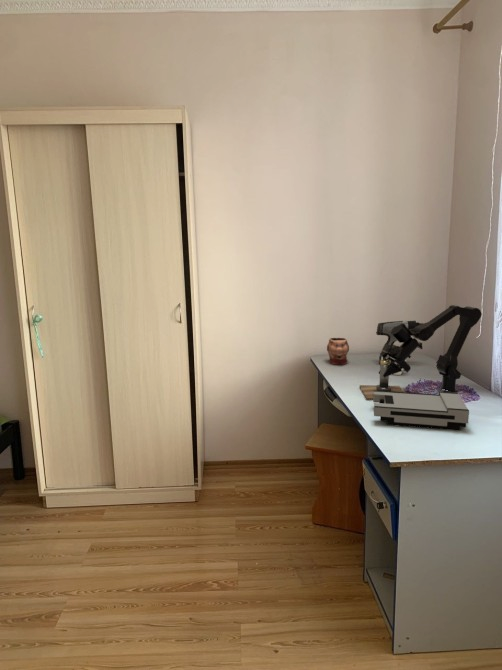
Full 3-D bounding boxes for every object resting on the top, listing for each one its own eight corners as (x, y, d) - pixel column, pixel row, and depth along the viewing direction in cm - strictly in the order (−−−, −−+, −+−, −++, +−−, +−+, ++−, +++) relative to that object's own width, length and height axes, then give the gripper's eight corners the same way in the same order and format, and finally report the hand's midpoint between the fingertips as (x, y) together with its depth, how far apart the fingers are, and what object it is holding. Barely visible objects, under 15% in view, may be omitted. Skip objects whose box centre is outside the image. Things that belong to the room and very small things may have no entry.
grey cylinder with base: (394, 390, 204) (395, 361, 201) (383, 392, 201) (384, 363, 198) (383, 386, 209) (385, 358, 207) (373, 388, 206) (374, 360, 204)
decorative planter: (323, 358, 272) (324, 335, 269) (344, 358, 272) (344, 334, 270) (330, 367, 252) (331, 342, 250) (352, 366, 253) (353, 341, 250)
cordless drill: (421, 367, 250) (424, 321, 245) (375, 365, 255) (377, 320, 250) (419, 363, 258) (422, 319, 253) (374, 362, 262) (376, 318, 258)
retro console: (372, 406, 190) (373, 387, 189) (456, 412, 183) (457, 392, 181) (373, 425, 171) (374, 404, 169) (467, 433, 163) (469, 411, 162)
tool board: (409, 400, 196) (409, 398, 196) (366, 400, 197) (366, 397, 197) (398, 388, 214) (399, 385, 214) (359, 387, 215) (359, 385, 215)
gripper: (384, 333, 211) (361, 358, 211) (405, 341, 192) (379, 368, 193) (399, 349, 213) (376, 374, 214) (421, 359, 195) (396, 385, 195)
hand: (381, 375), depth 204 cm, fingers closed on grey cylinder with base, 4 cm apart
